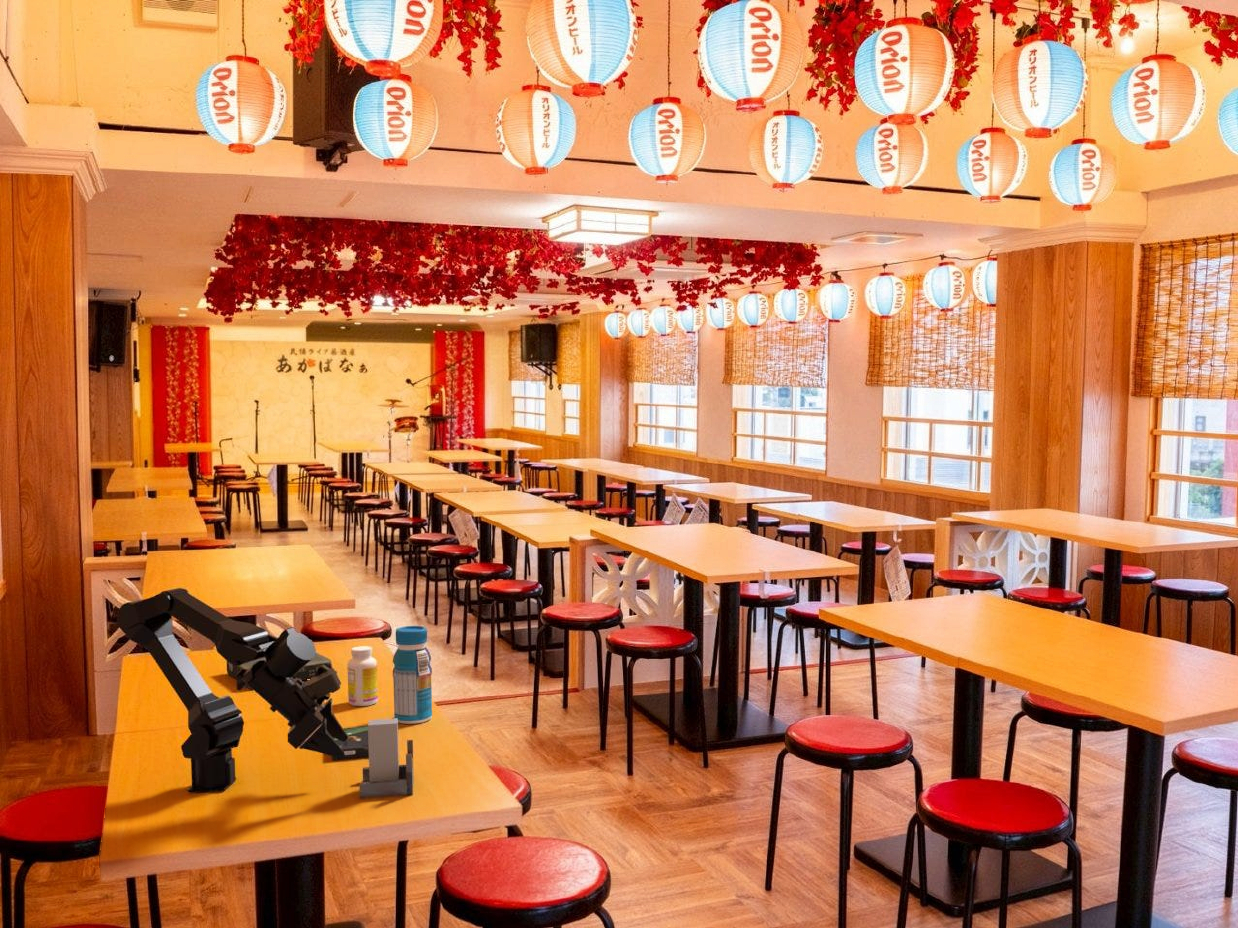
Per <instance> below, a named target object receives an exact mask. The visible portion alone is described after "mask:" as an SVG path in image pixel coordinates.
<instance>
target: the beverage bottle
mask: <svg viewBox="0 0 1238 928" xmlns="http://www.w3.org/2000/svg"><path fill="white" fill-rule="evenodd" d="M427 629H428V628H427V627H426V626H421V625H406V626H402V627H398V628H396V629H395V643H396V646H398V648H397V649H396V651H395V652H394V655H393V657H392V664H393V666H394V667H393V669H392V679H393V705H394V706H393V710H394V713H393V717H394V718H393V719H395V718H398V724H405V725H412V724H413V725H416V724H421V723H425V722H428V721H430V720H431V719H432V717H433V702H432V701H433V695H432V693H433V692H432V689H433V687H432V683H433V682H432V674H433V668H432V666H431V661H432V657H431V653H430V651H429V649H428V648H427V646H426V644H427V643H428V630H427Z"/></svg>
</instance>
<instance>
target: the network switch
mask: <svg viewBox="0 0 1238 928" xmlns="http://www.w3.org/2000/svg"><path fill="white" fill-rule="evenodd" d="M260 660H265V661H266V658H265V657H264V658H262V659H259V660H255V661H252V662H249V663H246V664H242V665H238V666H234V665H232V664H230V663H229V662H228V661H227V660H226V672H227V675H228V674H229V675H228V676H230V675H231V676H230V677H233V678H234V679H236V680H237V678H236V675H237V674H238V673H239V672H240V670H241V669H249V668H250V667H251V666H252V665H253V664H254V663H256V662H257V661H260ZM321 665H325V666H327V667H328V668H329V669H330V668H333V665H332V660H331V658H328V657H326V656H324V655H323V654H320V653H318V652H316V654H315V656H314V658H313V659H312V660H311V661H309V662H308V663H307V664H306V665H305V666H304V667H303V668H302V669H301V670H299V671H298V672H297V673H296V674H295V675H294V676H292V678H293V679H294V680H295V679H296V678H298V679H299V678H300V679H301V680H305V681H307V680H306V679H311V678H312V677H315V672H316V668H317V667H319V666H321ZM244 687H246V688H247V689H248V691H251V690H250V689H252V688H251V687H250V686H248V685H245V686H244Z"/></svg>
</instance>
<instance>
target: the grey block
mask: <svg viewBox="0 0 1238 928" xmlns="http://www.w3.org/2000/svg"><path fill="white" fill-rule="evenodd" d="M367 725H368V742H369V757H368V767H369V781H370V782H375V781H389V780H399V765H400V760H399V757H400V754H399V722H398V718H395V719H394V718H381V719H380V718H379V719H369V720H368V724H367Z"/></svg>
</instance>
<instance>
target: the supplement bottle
mask: <svg viewBox="0 0 1238 928" xmlns="http://www.w3.org/2000/svg"><path fill="white" fill-rule="evenodd" d="M350 652H351V653H350V654H351V656H352V657H351V659H349V661H348V662H347V666H346V667H347V668H346V669H347V691H348V692H347V695H348V698H347V699H348V704H349V705H350V706H351V707H368V706H372V705H374V704H375V705H376V703H378V702H379V689H378V688H379V687H378V685H379V683H378V662H377V659H375V657H372V654H373V647H372V646H369V645H365V646H364V645H362V646H355V647H352V648H351V651H350Z"/></svg>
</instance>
